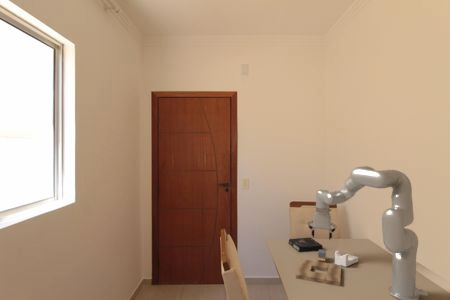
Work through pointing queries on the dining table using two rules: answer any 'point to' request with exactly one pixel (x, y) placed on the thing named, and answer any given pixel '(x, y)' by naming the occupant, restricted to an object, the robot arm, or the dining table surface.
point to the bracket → (345, 259)
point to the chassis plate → (307, 274)
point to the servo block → (322, 256)
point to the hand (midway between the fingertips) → (321, 237)
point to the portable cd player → (305, 244)
